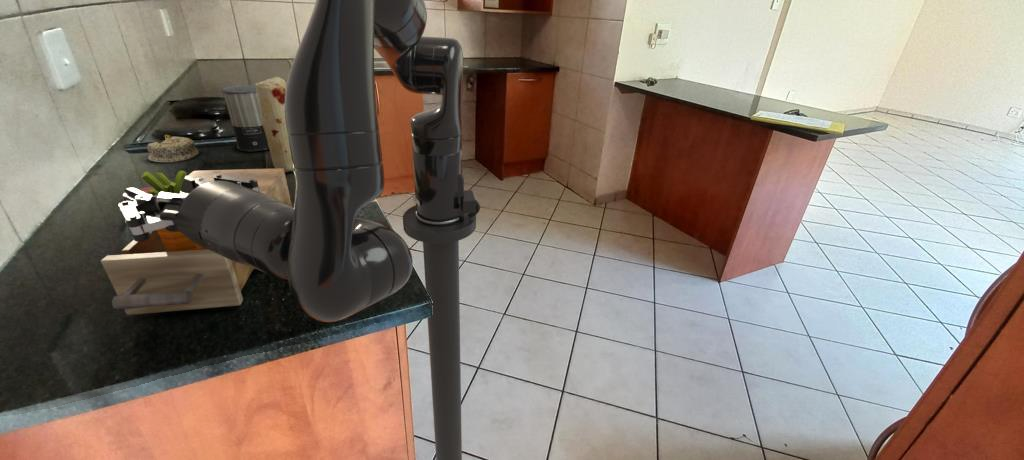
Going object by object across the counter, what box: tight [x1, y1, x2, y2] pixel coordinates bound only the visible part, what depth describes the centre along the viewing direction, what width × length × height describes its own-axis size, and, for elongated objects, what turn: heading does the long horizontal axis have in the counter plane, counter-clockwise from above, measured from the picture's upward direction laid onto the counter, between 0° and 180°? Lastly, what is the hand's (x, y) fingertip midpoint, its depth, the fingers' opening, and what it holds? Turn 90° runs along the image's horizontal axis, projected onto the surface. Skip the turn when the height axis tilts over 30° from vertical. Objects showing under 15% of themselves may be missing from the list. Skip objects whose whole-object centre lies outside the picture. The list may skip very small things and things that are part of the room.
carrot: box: [141, 170, 206, 252], centre depth 53 cm, size 5×5×15 cm
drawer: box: [100, 230, 255, 316], centre depth 55 cm, size 20×12×8 cm, turn 12°
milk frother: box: [219, 84, 270, 152], centre depth 111 cm, size 14×16×15 cm
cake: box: [146, 134, 200, 163], centre depth 101 cm, size 10×10×5 cm
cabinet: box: [180, 168, 293, 270], centre depth 66 cm, size 17×14×10 cm
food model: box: [255, 76, 295, 173], centre depth 94 cm, size 10×7×20 cm
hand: (156, 189), depth 52 cm, fingers closed on carrot, 4 cm apart
